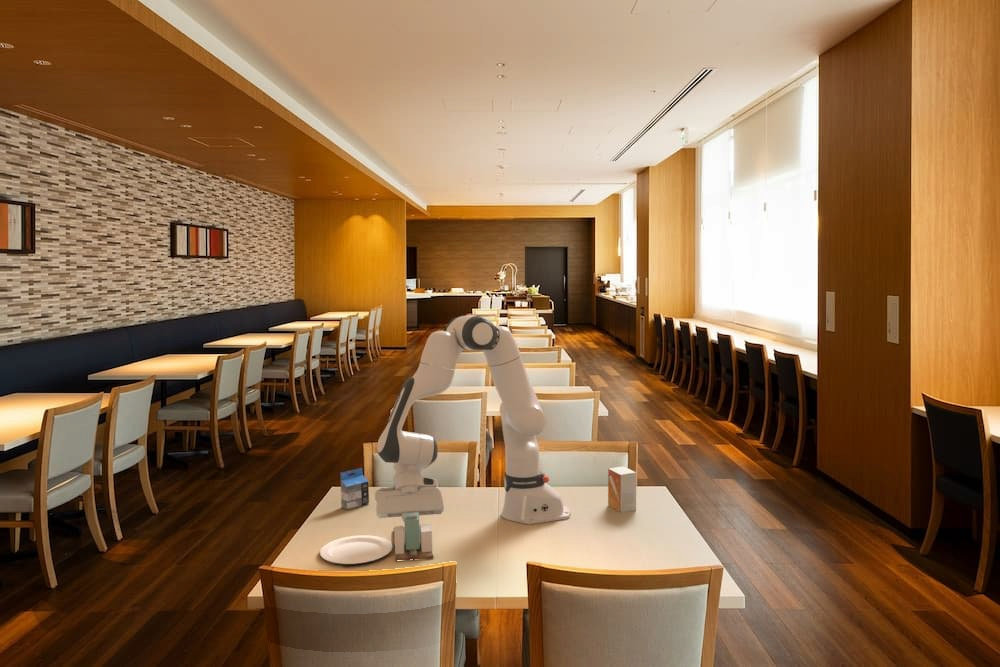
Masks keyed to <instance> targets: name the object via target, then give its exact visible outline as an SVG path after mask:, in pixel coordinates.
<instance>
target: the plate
mask: <svg viewBox="0 0 1000 667" xmlns="http://www.w3.org/2000/svg"><path fill="white" fill-rule="evenodd" d="M392 549H393V544H392V542H391V541H389V540H388V539H386V538H384V537H381V536H377V535H368V534H367V535H365V534H363V535H362V534H361V535H359V534H358V535H350V536H344V537H339V538H337V539H335V540H331V541H330V542H328V543H326V544H324V546H322V547H321V548H320V550H319V556H320V558H321V559H322V560H325V561H327V562H328V563H332V564H335V565H345V566H346V565H352V566H355V565H361V564H363V565H364V564H367V563H373V562H375V561H378V560H381V559H383V558H384V557H386V556H387V555H389V554H390V553H391V552H392Z"/></svg>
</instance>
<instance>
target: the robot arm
mask: <svg viewBox="0 0 1000 667" xmlns="http://www.w3.org/2000/svg"><path fill="white" fill-rule="evenodd" d="M464 350H465V351H477V352H479V351H482V352H483V354H484V356H485V360H486V363H487V366H488V369H489V372H490V376H491V378H492V382H493V385H494V387H495V390H496V391H497V393H498V395H499V398H500V400H501V403H500V406H499V413H500V419H501V427H502V436H503V441H504V447H505V448H504V449H505V451H504V452H505V472H504V477H503V478H504V480H503V482H504V484H503V486H504V490H505V494H504V501H503V507H502V511H501V517H502V518H504V519H506V520H508V521H512V522H518V523H521V524H524V525H534V524H541V523H547V522H554V521H559V520H566V519H569V518H570V516H571V513H570V509H569V507H567V506H566V505H565V504H564V503H563V499H562V496H561V494H560V493H559V492H558V491H557V490H556V489H555V488H553V487H552V486H550V485H549V484H548V483H549V481H550V477H549V476H548V475H546V474H545V473H544V472H542V471H540V446H539V444H538V439H537V436H538V435H540V434H541V433H542V432H543V431H544V429H545V427H546V424H547V418H546V415H545V413H544V411H543V409H542V406H541V404H540V402H539V398H538V396H537V393H536V391H535V390H534V388H533V385H532V383H531V380H530V378H529V377H528V376H529V375H528V373H527V371H526V367H525V364H524V363H525V362H524V361H523V357H522V355H521V351H520V349H519V347H518V343H517V341H516V340H515V337H514V335H513V334H512V332H511V330H510V329H509V328H508V327H506V326H505V325H504V326H503V325H495V324H494V323H493V322H492V321H491V320H489V319H488V318H487V317H485V316H481V315H475V314H466V315H458V316H456V317H453V318H452V319H451V320H450V321H449V322H448V323H447V325H446V326H445V328H443V330H437V331H436V330H435V331H434V332H431V333H430V335H429V336H428V338H427V339H426V342H425V345H424V348H423V350H422V354H421V357H420V361H419V365H418V368H417V370H416V372H415V373H414V374H413V376H411V377H409V378H407V379H406V380H405V381H404V382H403V384H402V386H401V388H400V390H399V392H398V395H397V398H395V399H396V400H395V402H394V405H393V408H392V410H391V412H390V415H389V417H388V418H387V419H388V420H387V422H386V424H385V426H384V428H383V430H382V431H381V433H380V435H379V437H378V442H377V444H376V453H377V454H378V456H379V457H380V459H381V460H382V461H384V462H385V463H390V464H391V463H392V464H393V469H394V477H393V483H394V486H390V487H389V486H388V487H380V488H379V489H377V490H376V491H375V492H374V500H375V501H376V510H375V513H376V516H377V518H379V519H385V518H389V519H390V518H399V517H401V520H402V522H403V523H404V513H416V512H418V516H419V517H420V516H431V515H441V514H443V512H444V509H445V508H444V507H445V505H444V498H443V494H442V491H441V489H440V488H439V486H438V484H439V483H438V480H437V479H435V478H432V477H427V476H425V475H423V473H422V472H423V469H427V468H428V467H429V466H431V465H432V464H433V463H435V461H436V460H437V459H438V453H439V448H438V443H437V440H436V439H435V437H434V436H432V435H429V434H426V433H418V432H411V431H406V430H405V431H404V430H403V426H404V424H405V421H406V420H407V416H408V414H409V411H410V409H411V407H412V405H413V404H414V403H415V402H417V401H418V400H422V399H424V398H429V397H435V396H438V395H441V394H442V393H445V392H446V391H447V390H448V389H449V388H450V387H451V385H452V383H453V379H454V376H455V370H456V366H457V361H458V359H459V357H460V356H461V355H460V354H461V353H462V352H463V351H464Z"/></svg>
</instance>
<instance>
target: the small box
mask: <svg viewBox="0 0 1000 667" xmlns="http://www.w3.org/2000/svg"><path fill="white" fill-rule="evenodd" d="M607 478H608V480H607V481H608V482H607V483H608V484H607V485H608V486H607V488H608V489H607V493H608V494H607V506H609V507H611V508H612V509H614V510H616V511H617V512H619V513H625V512H631V511H636V510H637V471H634V470H632V469H630V468H627V467H625V466H624V465H623V466H617V467H610V468H608V473H607Z"/></svg>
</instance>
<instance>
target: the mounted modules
mask: <svg viewBox="0 0 1000 667" xmlns="http://www.w3.org/2000/svg"><path fill="white" fill-rule="evenodd" d="M419 526H420V543H421V550H422V552H430V551H432V552H433V533H432V532H433V530H432V527H431V523H421V524H419ZM403 527H404V526H403V525H397V526H396V525H394V526H393V533H394V532H395V542H394V554H404V532H403Z"/></svg>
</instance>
